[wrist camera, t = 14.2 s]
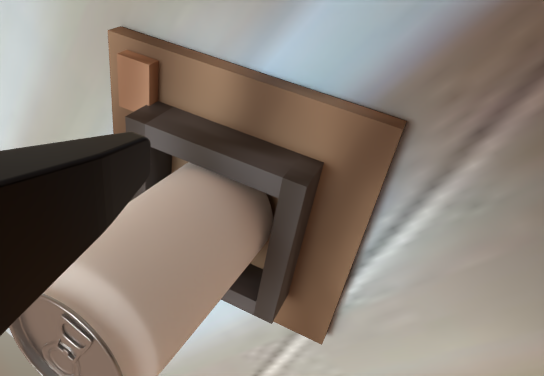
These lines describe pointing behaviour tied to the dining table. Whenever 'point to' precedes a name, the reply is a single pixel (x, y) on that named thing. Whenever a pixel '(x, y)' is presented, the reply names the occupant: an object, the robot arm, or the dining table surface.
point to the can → (147, 278)
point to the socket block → (262, 164)
